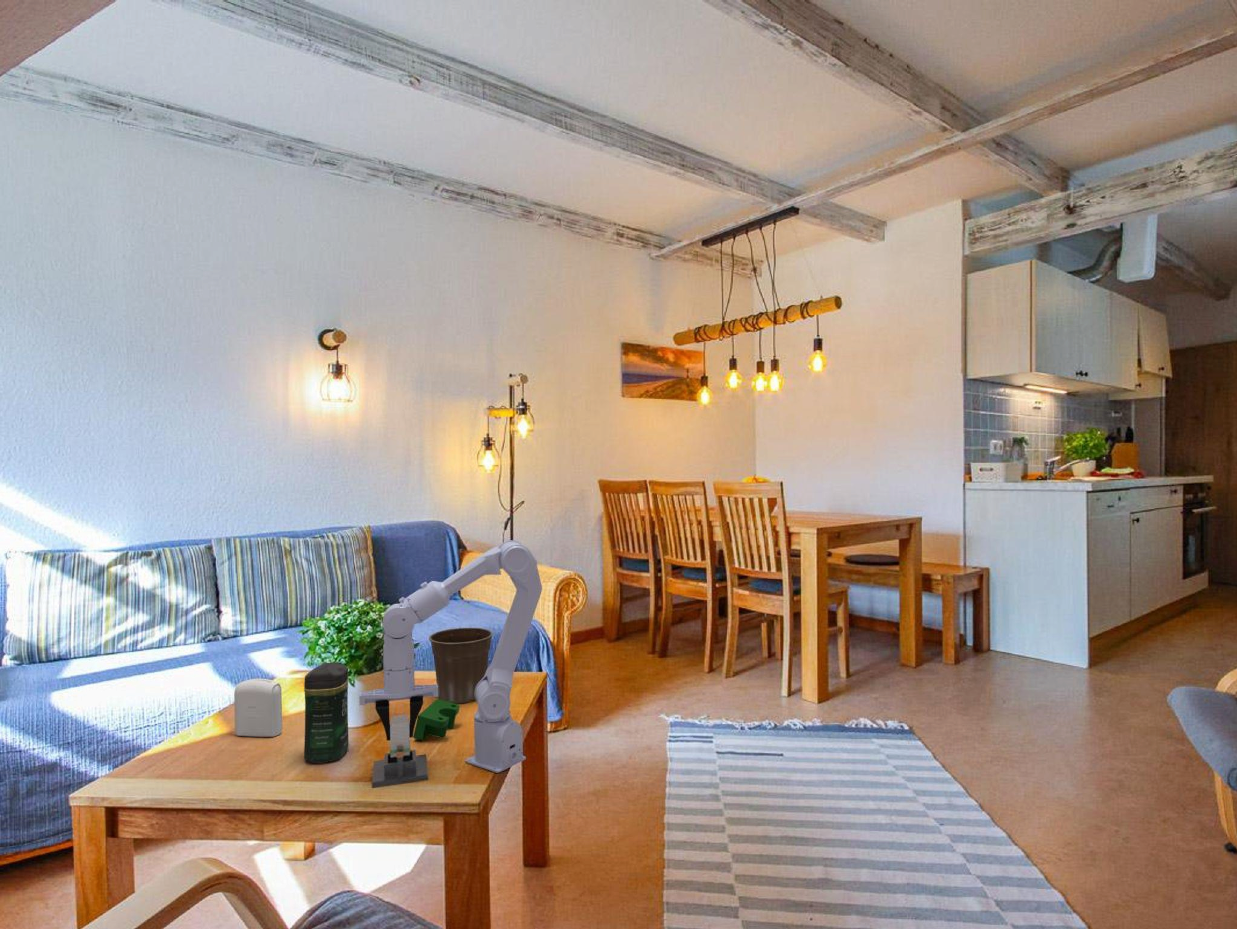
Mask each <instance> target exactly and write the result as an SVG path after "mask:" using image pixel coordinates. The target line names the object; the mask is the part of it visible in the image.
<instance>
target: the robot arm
mask: <svg viewBox="0 0 1237 929" xmlns="http://www.w3.org/2000/svg"><path fill="white" fill-rule="evenodd" d="M502 570H503V571H504V572H505V573H506V574H507V575H508V576H509V577H510V580H511V582H512V584H513V586H514V587H515V589H516V590H515V595H514V598H513V601H512V602H511V606H510V608H509V612H508V615H507V616H506V620H505V623H504V626H503V629H502V632H501V635H500V637H499V640H498V643H497V646H496V648H495V651H494V654H493V658H492V661H491V663H490V665H488V668H487V670H486V673H485V676H484V677H483V679H482V680H481V681H480V682H479V683H478V684H477V686H476V688H475V693H474V695H475V699H476V701H475V702H476V703H477V709H476V712H474V714H473V716H474V717H473V724H474V725H473V730H474V733H473V734H474V735H473V736H474V755H473V756H470V757H468V758H465V763H466V764H470V765H473V766H476V767H478V768H481V769H485V770H488V771H490V772H493V773H496V774H500V773H502V772H503V771H506V770H507V769H509V768H511V767H514V766H515V765H517V764H519V763H521V762H523V761H525V760H526V758H527V757H526V756H525V755H524V747H523V746H524V744H523V743H524V742H523V739H524V738H523V733H524V732H523V727H522V726H521V724H520V723H519V722H518V721H516V720H515V719H514V718H513V717H512V715H511V710H510V709H511V691H512V688H513V680H514V672H515V670H516V666H517V664H518V662H519V659H520V656H521V652H522V650H523V648H524V644H525V642H526V638H527V635H528V632H529V630H530V627H531V624H532V621H533V618H534V616H535V615H534V614H535V612H536V609H537V606H538V603H539V600H540V598H541V595H542V591H543V585H542V582H541V577H540V574H539V570H538V563H537V559H536V558H535V556H534V555H533V553H532V552H531V550H530V549H529V548H528V547H527V546H525V545H523V544H522V543H521V542H519V541H517V540H511V539H510V540H506V541H504V542H503V543H501V544H500V545H499V546H495V547H492V548H491V549H488V550H487V551H485V552H484V553H482V554H481V555H479V556H478V557H476V558H475V559H473V560H472V561H471V562H469V563H467V564H466V565H465V566H463V567H462V568H461V569H459V570H457V571H456V572H455V573H453V574H452V575H450V576H449V577H448V578H446V579H444V580H443V581H436V580H431V581H430V582H429V583H428V582H427V581H424V582H422V583H421V584H420V588H419V589H417V590H416V591H415V592H413V593H411V594H410V595H407V597H404V596H402V597H401V598H399V600H398V601H399V603H394V604H392V605H390V606H388V608H387V609H386V610H385V612H384V613H383V616H382V617H383V618H382V622H381V623H382V630H383V631H384V634H383V641H384V643H383V646H382V649H383V653H382V654H383V688H378V689H374V690H369V691H362V692H361V691H360V692H359V694H358V696H359V697H358V698H359V701H358V702H359V706H366V705H367V704H374V703H375V707H374V708H375V711H376V714H378V717H379V718H380V721H381V723H382V726H383V728H384V732H385V736H386V741H390V720H391V719H390V702H393V701H401V700H409V739H411V738H414V737H413V736H414V731H415V727H416V723H417V718H418V715H419V714H420V713H421V709H422V708H423V704H424V698H429V697H432V698H438V685H437V683H436V684H415V642H414V641H413V630H414V627H415V625H416V624H422V623H423V622H424V621H426V620H428V619H429V618H431V617H432V616H433V615H436V614H437V613H438V612H440V611H441V610H443V609H445V608H446V607H447V606H448V605H449V604H450V598H451V596H453V595H454V594H456V593H457V592H459V591H461V590H463V589H464V588H466V587H468V586H469V585H471V584H472V583H474V582H477V581H478V580H479V579H480V578H483V577H484V576H486V575H487V576H489V575H490V576H495V575H496V576H497V575H498V576H499V575H502V573H501V572H502Z"/></svg>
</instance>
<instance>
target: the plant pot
mask: <svg viewBox="0 0 1237 929" xmlns="http://www.w3.org/2000/svg"><path fill="white" fill-rule="evenodd" d="M493 635H494V632H493V631H491V630H489V629H487V628H482V627H458V628H456V627H455V628H448V629H444V630H439V631H436V632H434V633H432V634H431V635H429V636H428V640H429V642H430V645H431V653H432V655H433V661H434V670H435V671H434V672H435V677H436V678H435V679H436V684H437V685H438V697H437V699H440V700H444V701H447V702H451V703H454V704H457V705H459V704H467V703H469V702H470V701H473V702H477V701H476V699H475V695H474V693H475V688H476V686H477V684H478V683H479V682H480V681H481V680H482V679H483V677H484V676H485V673H486V670H487V669H488V667H489V652H490V650H491V644H492V637H493Z"/></svg>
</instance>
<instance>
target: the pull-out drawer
mask: <svg viewBox="0 0 1237 929" xmlns="http://www.w3.org/2000/svg"><path fill="white" fill-rule="evenodd" d="M408 715H409V714H408V713H407V714H399V715H392V716H391V719H390V740H389V741H390V743H389V753H390V754H391V757H397V752H403V756H406V755H410V750H411V740H410V738H409V723H410V717H409V716H408Z"/></svg>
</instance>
